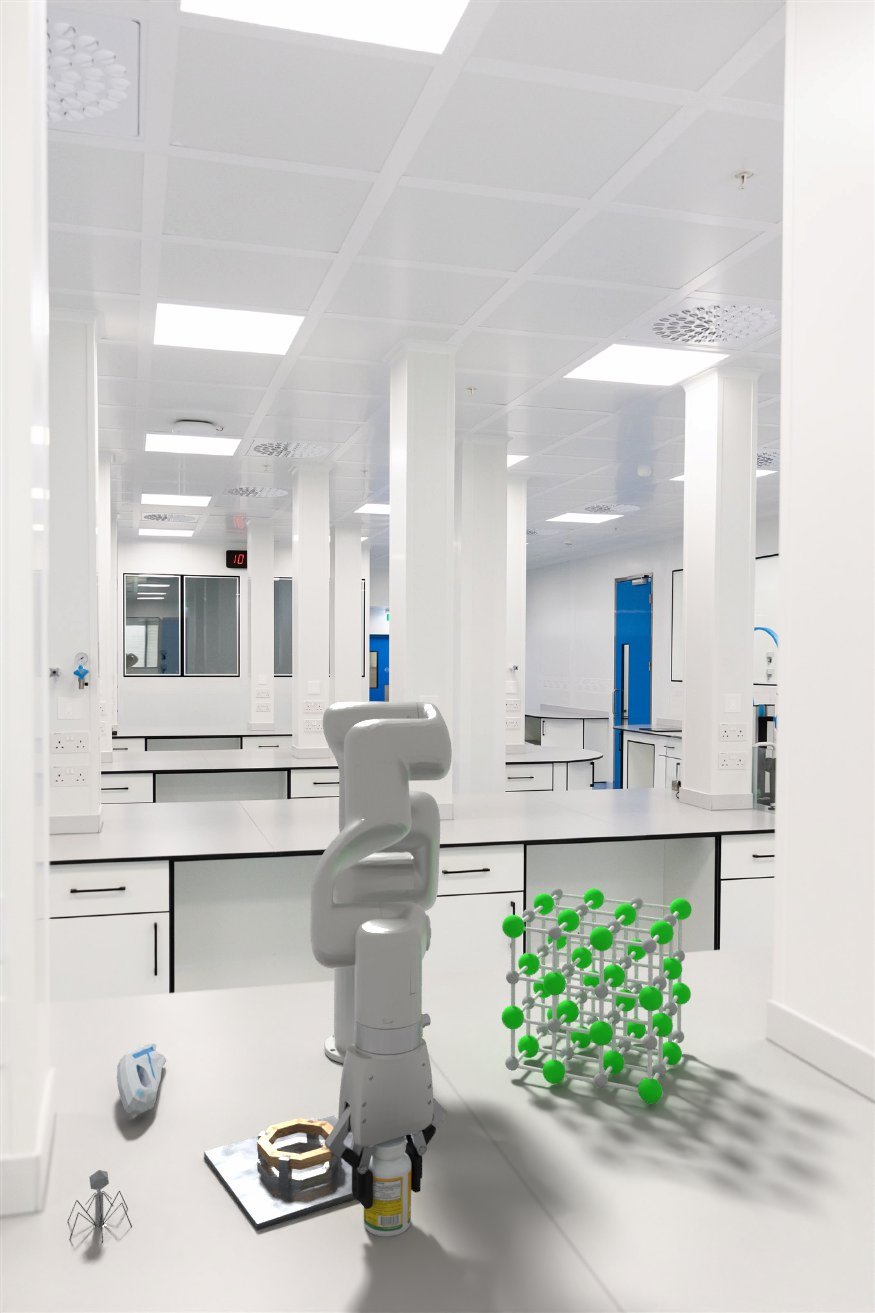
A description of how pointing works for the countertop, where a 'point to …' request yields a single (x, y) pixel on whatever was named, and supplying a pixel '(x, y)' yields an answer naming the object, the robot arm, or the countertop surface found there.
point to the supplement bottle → (390, 1189)
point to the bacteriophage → (99, 1200)
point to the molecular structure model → (599, 988)
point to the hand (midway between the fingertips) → (387, 1193)
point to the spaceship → (139, 1078)
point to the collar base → (271, 1195)
